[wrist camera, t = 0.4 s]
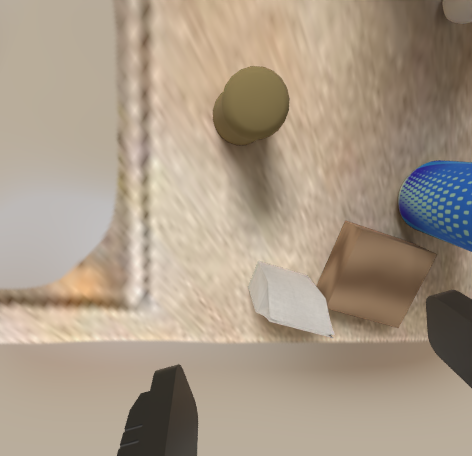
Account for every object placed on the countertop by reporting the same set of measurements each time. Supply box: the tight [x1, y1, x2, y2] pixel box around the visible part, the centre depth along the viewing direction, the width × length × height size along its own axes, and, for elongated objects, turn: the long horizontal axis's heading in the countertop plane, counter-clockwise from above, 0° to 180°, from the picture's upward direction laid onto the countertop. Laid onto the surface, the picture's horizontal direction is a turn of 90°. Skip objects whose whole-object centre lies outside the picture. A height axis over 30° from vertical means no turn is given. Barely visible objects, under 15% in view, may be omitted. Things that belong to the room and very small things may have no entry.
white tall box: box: [248, 261, 335, 338], centre depth 32 cm, size 4×7×10 cm, turn 71°
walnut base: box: [316, 221, 437, 328], centre depth 36 cm, size 10×10×4 cm
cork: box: [213, 66, 289, 145], centre depth 26 cm, size 6×6×11 cm
